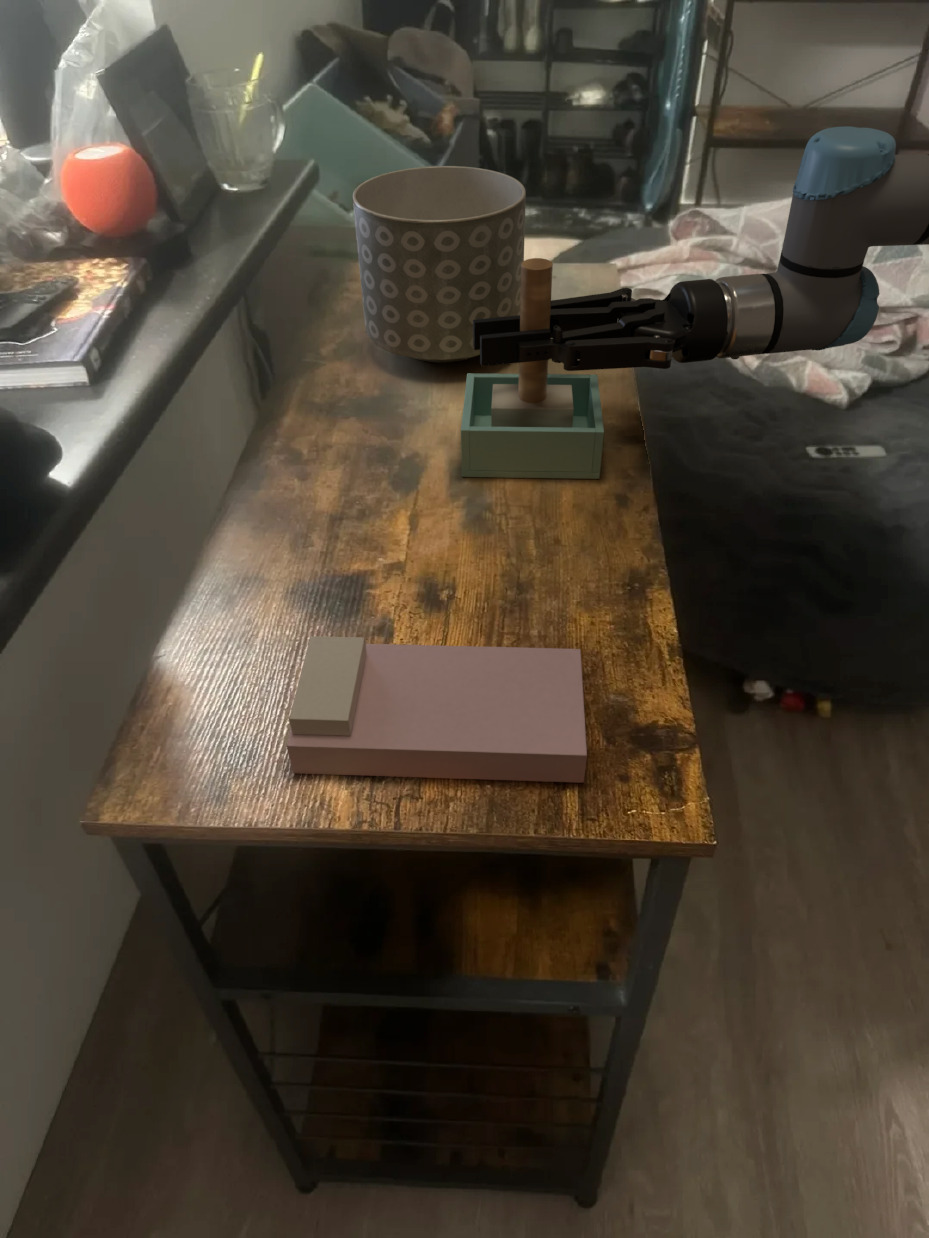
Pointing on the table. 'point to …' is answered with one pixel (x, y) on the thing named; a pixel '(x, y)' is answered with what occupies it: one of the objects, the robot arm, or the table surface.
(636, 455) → the table surface
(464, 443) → the green open box
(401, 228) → the planter
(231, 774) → the table surface
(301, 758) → the bed
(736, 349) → the robot arm
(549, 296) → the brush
